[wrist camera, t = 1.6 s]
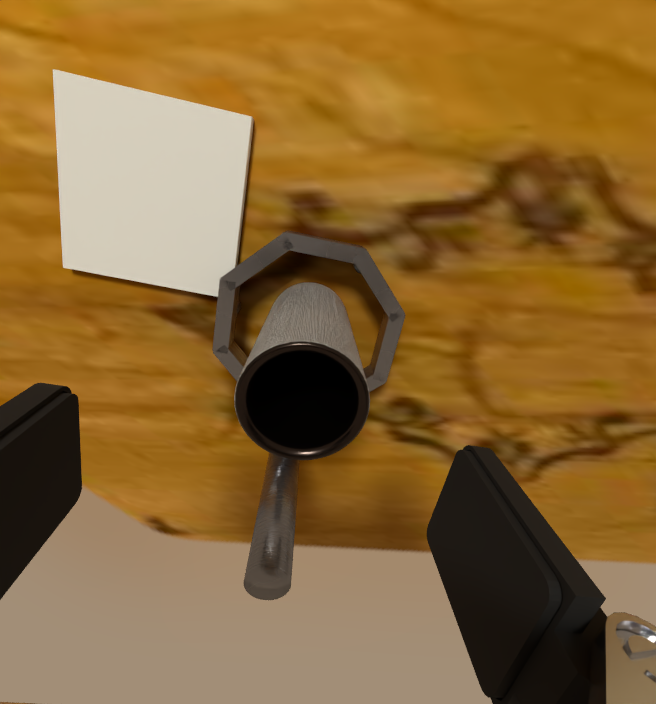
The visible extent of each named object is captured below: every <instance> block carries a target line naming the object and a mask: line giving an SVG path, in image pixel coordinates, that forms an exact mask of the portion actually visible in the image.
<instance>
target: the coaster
mask: <svg viewBox="0 0 656 704" xmlns="http://www.w3.org/2000/svg"><path fill="white" fill-rule="evenodd" d="M53 82H54V102H55V121H56V141H57V160H58V179H59V199H60V218H61V238H62V257H63V268H68V269H74V270H79V271H84V272H89V273H95V274H100V275H105V276H111V277H116V278H121V279H126V280H132V281H137V282H142V283H147V284H153V285H158V286H163V287H168V288H174V289H179V290H184V291H190V292H195V293H200V294H205V295H211V296H216V297H218V291H219V281H220V279H221V277H222V276H224V275H225V274H227V273H228V272H229V271H231V270H232V269H234V268H235V267H236V266H237V263H238V254H239V246H240V237H241V228H242V219H243V211H244V202H245V193H246V184H247V176H248V167H249V158H250V149H251V141H252V132H253V123H254V119H253V118H252V117H251V116H247V115H242V114H238V113H234V112H230V111H226V110H222V109H217V108H213V107H209V106H205V105H201V104H196V103H192V102H188V101H184V100H180V99H176V98H171V97H167V96H163V95H159V94H155V93H150V92H146V91H142V90H138V89H134V88H130V87H125V86H121V85H117V84H113V83H109V82H104V81H100V80H96V79H92V78H88V77H84V76H79V75H75V74H71V73H67V72H63V71H59V70H54V69H53Z"/></svg>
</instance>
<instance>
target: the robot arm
mask: <svg viewBox="0 0 656 704" xmlns="http://www.w3.org/2000/svg"><path fill="white" fill-rule="evenodd" d="M81 489H82V477H81V453H80V429H79V404H78V397H77V395H75V394H72V393H71V390H70V388H68V387H67V386H60V385H53V384H46V383H37V384H34V385H33V386H31V387H30V388H28V389H27V390H25V391H23V392H22V393H20V394H19V395H17V396H16V397H14V398H13V399H11V400H10V401H8V402H6V403H5V404H3V405H2V406H0V599H1V598H2V597H3V595H4V594H5V593H6V591H7V590H8V589H9V588H10V587H11V585H12V584H13V583H14V581H15V580H16V579H17V578H18V576H19V575H20V574H21V573H22V571H23V570H24V569H25V567H26V566H27V565H28V564H29V562H30V561H31V560H32V558H33V557H34V556H35V554H36V553H37V552H38V551H39V550H40V548H41V547H42V545H43V544H44V543H45V542H46V541H47V539H48V538H49V537H50V536H51V534H52V533H53V532H54V530H55V529H56V528H57V526H58V525H59V524H60V523H61V521H62V520H63V519H64V518H65V516H66V515H67V514H68V513H69V511H70V510H71V509H72V507H73V506H74V505H75V504H76V502H77V500H78V498H79V496H80V493H81ZM427 540H428V544H429V546H430V549H431V552H432V555H433V557H434V560H435V563H436V565H437V568H438V571H439V574H440V577H441V579H442V582H443V585H444V588H445V590H446V593H447V596H448V599H449V601H450V604H451V607H452V609H453V612H454V615H455V617H456V621H457V623H458V626H459V629H460V631H461V634H462V637H463V640H464V642H465V645H466V648H467V651H468V654H469V656H470V659H471V662H472V665H473V667H474V670H475V673H476V676H477V678H478V681H479V684H480V686H481V688H482V691H483V692H484V694H485V695H486V696H487V697H490V698H491V700H492V703H493V704H656V627H655V626H654V625H653V624H651V623H649V622H647V621H645V620H643V619H641V618H639V617H637V616H634V615H631V614H628V613H625V612H615V613H613V614H611V615H609V616H608V617H607V616H606V615H605V613H604V612H603V611H602V609H601V608H600V607H601V605H602V604H603V602H604V601H605V599H606V598H605V597H604V596H603V594H602V593H601V592H600V590H599V589H598V588H597V586H596V585H595V584H594V582H593V581H592V580H591V579H590V577H589V576H588V575H587V573H586V572H585V571H584V569H583V568H582V567H581V566H580V564H579V563H578V562H577V560H576V559H575V558H574V556H573V555H572V554H571V552H570V551H569V550H568V549H567V547H566V546H565V545H564V543H563V542H562V541H561V539H560V538H559V537H558V536H557V534H556V533H555V532H554V530H553V529H552V528H551V526H550V525H549V524H548V523H547V521H546V520H545V519H544V517H543V516H542V515H541V513H540V512H539V511H538V509H537V508H536V507H535V506H534V504H533V503H532V502H531V500H530V499H529V498H528V496H527V495H526V494H525V493H524V491H523V490H522V489H521V487H520V486H519V485H518V483H517V482H516V481H515V480H514V478H513V477H512V476H511V474H510V473H509V472H508V470H507V469H506V468H505V466H504V465H503V464H502V463H501V461H500V460H499V459H498V457H497V456H496V455H495V453H494V452H493V451H492V450H491V449H489V448H484V447H477V446H470V445H468V446H465V447H464V448H463V450H459V451H458V452H457V453H456V455H455V458H454V461H453V463H452V466H451V468H450V471H449V473H448V476H447V478H446V481H445V484H444V486H443V489H442V491H441V494H440V496H439V499H438V501H437V504H436V507H435V509H434V512H433V514H432V517H431V519H430V522H429V524H428V528H427ZM0 704H33V703H8V702H0Z"/></svg>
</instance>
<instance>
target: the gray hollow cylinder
mask: <svg viewBox="0 0 656 704" xmlns="http://www.w3.org/2000/svg"><path fill="white" fill-rule="evenodd" d="M234 402H235V410H236V414H237V417H238V420H239V422H240V424H241V426H242V428H243V429H244V431H245V432H246V434H247V435H248V436H249V437H250V438H251V439H252V440H253V441H254V442H255V443H256V444H257V445H258V446H260V447H261V448H263V449H264V450H266V451H268V452H270V453H272V454H274V455H277V456H280V457H283V458H287V459H293V460H312V459H318V458H322V457H326V456H329V455H331V454H334V453H336V452H338V451H339V450H341V449H343V448H344V447H345V446H347V445H348V444H349V443H350V442H351V441H353V440H354V438H355V437H356V436H357V435H358V434H359V432H360V431H361V429H362V428H363V426H364V424H365V422H366V419H367V416H368V412H369V407H370V395H369V389H368V384H367V381H366V377H365V374H364V370H363V367H362V363H361V360H360V357H359V353H358V350H357V346H356V343H355V339H354V336H353V332H352V329H351V326H350V322H349V319H348V315H347V312H346V309H345V306H344V304H343V302H342V301H341V299H340V298H339V297H338V295H337V294H336V293H335V292H334V291H332V290H331V289H329V288H328V287H326V286H324V285H321V284H318V283H312V282H305V283H299V284H296V285H293V286H291V287H289V288H287V289H286V290H285V291H283V292H282V293H281V294H280V295H279V297H278V298H277V299H276V301H275V302H274V304H273V306H272V308H271V310H270V312H269V314H268V316H267V319H266V321H265V323H264V325H263V327H262V329H261V331H260V334H259V336H258V338H257V340H256V342H255V344H254V346H253V348H252V351H251V353H250V355H249V357H248V359H247V361H246V363H245V366H244V368H243V370H242V372H241V374H240V377H239V379H238V382H237V385H236V389H235V397H234Z"/></svg>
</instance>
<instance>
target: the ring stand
mask: <svg viewBox="0 0 656 704" xmlns="http://www.w3.org/2000/svg"><path fill="white" fill-rule="evenodd" d="M289 250H290V251H295V252H300V253H305V254H310V255H315V256H320V257H324V258H329V259H334V260H339V261H344V262H349V263H353V267H354V268H355V270H356V271H357V272H358V273H361V274H362V276H363V277H364V279H365V280H366V282H367V284H368V285H369V287H370V288H371V290H372V292H373V293H374V295H375V296H376V298H377V300H378V301H379V303H380V304H381V306H382V308H383V309H384V315H383V319H382V322H381V326H380V330H379V334H378V337H377V341H376V345H375V349H374V352H373V356H372V360H371V364H370V365H369V366H367V367H366V368H364V369H363V370H364V374H365V377H366V381H367V384H368V389H369V392H371V391H372V390H374V389H376V388H377V387H379V386H381V385H382V384H384V383H385V382H386V381H387V377H388V374H389V370H390V367H391V363H392V360H393V357H394V353H395V350H396V346H397V343H398V339H399V336H400V332H401V329H402V325H403V322H404V318H405V313H404V311H403V310H402V308H401V306H400V305H399V303H398V301H397V300H396V298H395V296H394V295H393V293H392V291H391V290H390V288H389V286H388V285H387V283H386V281H385V280H384V278H383V276H382V275H381V273H380V271H379V270H378V268H377V266H376V265H375V263H374V261H373V260H372V258H371V256H370V255H369V253H368V251H367V250H366V249H365V248H364V247H362V246H359V245H354V244H350V243H345V242H340V241H335V240H331V239H326V238H321V237H317V236H312V235H307V234H302V233H298V232H293V231H286V232H284V233H283V234H281V235H280V236H278V237H277V238H276V239H274V240H273V241H271V242H270V243H269V244H267V245H266V246H264V247H263V248H262V249H260V250H259V251H257V252H256V253H255V254H253V255H252V256H250V257H249V258H248V259H246V260H245V261H243V262H242V263H241V264H239V265H238V266H236V267H235V268H234V269H232V270H231V271H229V272H228V273H227V274H225V275H224V276H222V277H221V279H220V281H219V291H218V301H217V311H216V321H215V331H214V341H213V351H214V352H213V353H214V354H215V356H216V357H217V358H218V359H219V360H220V361H221V363H222V364H223V365H224V366H225V367H226V369H227V370H228V371H229V372H230V373H231V375H232V376H233V377H234V378H235V379H236V381H237V382H238V379H239V377H240V374H241V372H242V370H243V368H244V366H245V363H246V361H247V359H248V357H247V356H246V355H245V353H244V352H243V351H242V350H241V349H240V347H239V346H238V345H237V344H236V342H235V341H234V334H235V326H236V318H237V313H238V312H239V311H240V309H241V303H240V302H239V292H240V284H242V283H243V282H245V281H246V280H247V279H249V278H250V277H252V276H253V275H255V274H256V273H257V272H259V271H260V270H262V269H263V268H265V267H266V266H267V265H269V264H270V263H272V262H273V261H275V260H276V259H277V258H279V257H280V256H282V255H283V254H284V253H286V252H287V251H289ZM299 462H300V460H293V459H287V458H283V457H280V456H277V455H274V454H272V453H270V452H269V457H268V462H267V467H266V472H265V477H264V482H263V487H262V492H261V498H260V503H259V508H258V513H257V518H256V523H255V528H254V533H253V538H252V543H251V548H250V553H249V559H248V563H247V569H246V573H245V579H244V587H245V589H246V591H247V592H248V593H249V594H250V595H252V596H253V597H255V598H258V599H263V600H274V599H278V598H280V597H282V596H284V595H285V594H286V593H287V592H288V591H289V589H290V587H291V575H292V561H293V547H294V533H295V519H296V505H297V490H298V476H299Z"/></svg>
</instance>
